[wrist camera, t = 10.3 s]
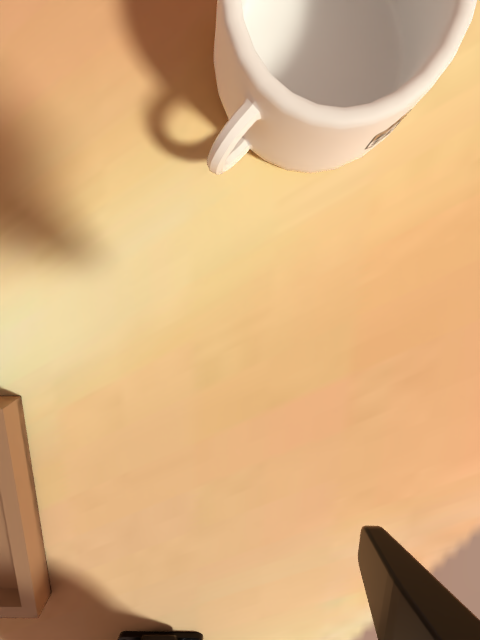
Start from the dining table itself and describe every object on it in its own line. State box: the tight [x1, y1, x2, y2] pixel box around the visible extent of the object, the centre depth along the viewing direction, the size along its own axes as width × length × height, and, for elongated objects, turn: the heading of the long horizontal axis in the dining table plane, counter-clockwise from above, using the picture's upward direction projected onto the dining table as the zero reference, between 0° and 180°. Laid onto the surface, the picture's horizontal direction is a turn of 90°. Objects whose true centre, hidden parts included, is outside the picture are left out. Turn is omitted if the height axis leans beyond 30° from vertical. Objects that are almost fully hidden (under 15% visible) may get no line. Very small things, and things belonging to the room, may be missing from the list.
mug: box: [207, 0, 477, 175], centre depth 13 cm, size 12×10×6 cm
